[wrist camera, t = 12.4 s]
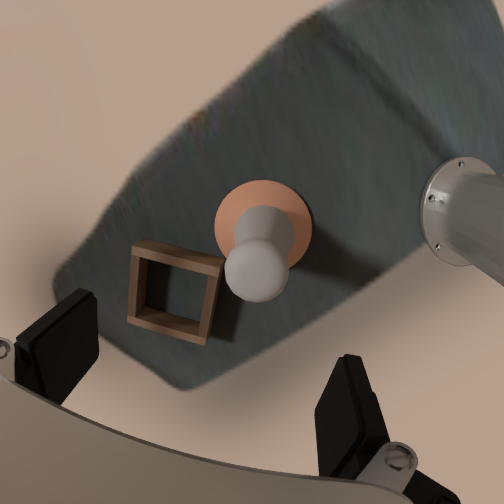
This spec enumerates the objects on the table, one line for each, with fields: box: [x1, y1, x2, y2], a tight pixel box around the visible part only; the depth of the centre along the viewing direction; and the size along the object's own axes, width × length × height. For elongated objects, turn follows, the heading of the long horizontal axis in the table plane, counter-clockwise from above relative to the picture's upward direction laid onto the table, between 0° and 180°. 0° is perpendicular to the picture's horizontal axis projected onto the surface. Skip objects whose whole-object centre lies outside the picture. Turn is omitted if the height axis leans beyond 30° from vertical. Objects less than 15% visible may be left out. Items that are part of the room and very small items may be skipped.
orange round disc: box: [215, 180, 312, 268], centre depth 32 cm, size 10×10×1 cm
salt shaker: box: [225, 205, 295, 303], centre depth 26 cm, size 6×6×13 cm
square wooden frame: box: [127, 238, 225, 346], centre depth 34 cm, size 10×10×3 cm
